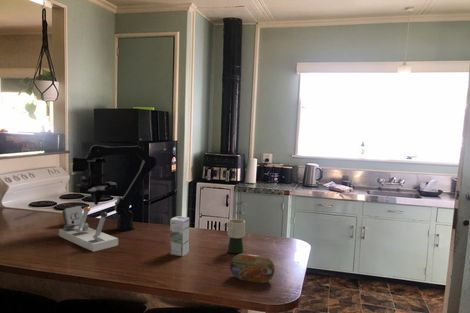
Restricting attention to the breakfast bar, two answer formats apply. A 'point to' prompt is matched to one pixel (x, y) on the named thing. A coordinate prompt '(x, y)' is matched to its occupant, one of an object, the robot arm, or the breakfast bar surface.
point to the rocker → (69, 226)
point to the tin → (252, 268)
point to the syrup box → (179, 236)
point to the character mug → (236, 235)
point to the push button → (85, 226)
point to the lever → (100, 226)
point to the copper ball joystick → (83, 219)
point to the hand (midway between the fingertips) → (96, 204)
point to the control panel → (88, 238)
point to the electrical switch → (72, 215)
